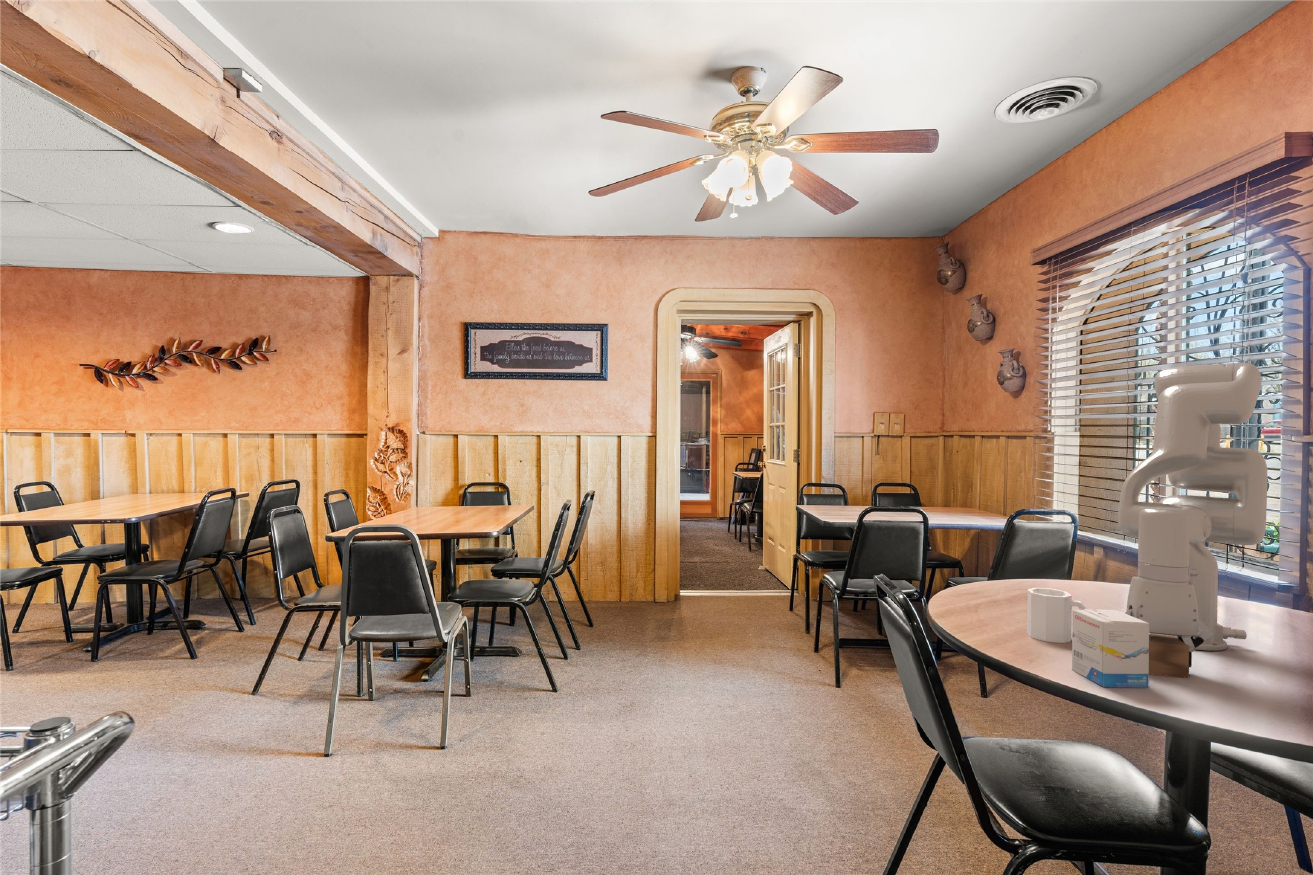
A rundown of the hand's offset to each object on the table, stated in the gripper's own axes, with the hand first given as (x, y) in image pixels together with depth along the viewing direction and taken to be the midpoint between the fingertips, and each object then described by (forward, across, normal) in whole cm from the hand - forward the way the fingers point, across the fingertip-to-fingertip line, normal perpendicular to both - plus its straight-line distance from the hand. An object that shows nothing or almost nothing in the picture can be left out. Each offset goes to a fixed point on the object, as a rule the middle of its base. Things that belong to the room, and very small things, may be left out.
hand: (1161, 667), depth 118 cm
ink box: (+1, +11, +8) cm, 14 cm away
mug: (+1, +13, -15) cm, 20 cm away
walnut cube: (+1, 0, 0) cm, 1 cm away
